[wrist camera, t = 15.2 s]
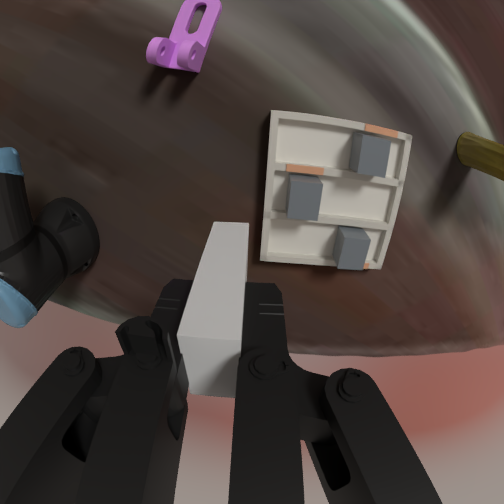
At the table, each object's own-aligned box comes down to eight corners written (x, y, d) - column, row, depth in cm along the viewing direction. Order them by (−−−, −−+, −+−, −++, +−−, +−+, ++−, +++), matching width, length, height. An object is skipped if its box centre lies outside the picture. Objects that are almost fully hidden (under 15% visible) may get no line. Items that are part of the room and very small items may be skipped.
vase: (466, 172, 34) (520, 202, 22) (450, 147, 32) (508, 170, 20) (483, 150, 31) (537, 174, 19) (467, 124, 30) (526, 141, 17)
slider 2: (348, 166, 34) (357, 173, 31) (353, 131, 32) (362, 134, 29) (374, 170, 34) (385, 178, 31) (379, 137, 32) (391, 140, 28)
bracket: (199, 72, 31) (185, 65, 25) (163, 67, 30) (143, 60, 24) (227, -2, 24) (219, -21, 18) (190, -6, 24) (176, -24, 18)
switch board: (260, 252, 44) (259, 261, 41) (271, 110, 33) (271, 110, 31) (375, 260, 44) (381, 269, 41) (403, 133, 33) (412, 135, 30)
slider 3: (332, 254, 41) (337, 268, 38) (338, 225, 39) (344, 237, 35) (355, 256, 41) (362, 270, 38) (362, 228, 39) (371, 240, 35)
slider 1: (285, 207, 38) (287, 218, 35) (288, 173, 36) (291, 180, 32) (313, 210, 38) (317, 221, 35) (317, 176, 36) (323, 184, 32)
